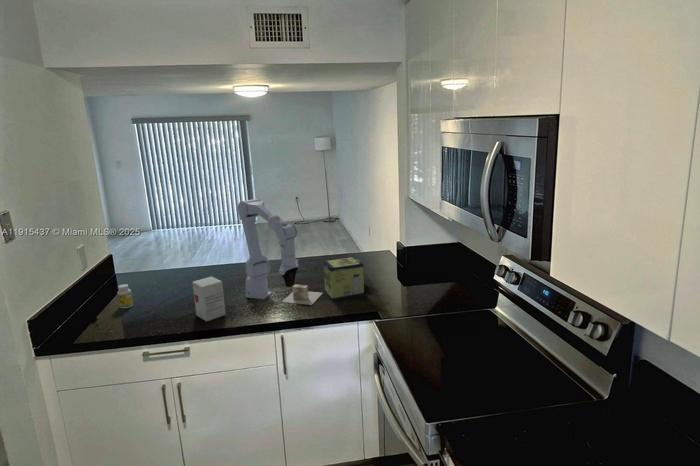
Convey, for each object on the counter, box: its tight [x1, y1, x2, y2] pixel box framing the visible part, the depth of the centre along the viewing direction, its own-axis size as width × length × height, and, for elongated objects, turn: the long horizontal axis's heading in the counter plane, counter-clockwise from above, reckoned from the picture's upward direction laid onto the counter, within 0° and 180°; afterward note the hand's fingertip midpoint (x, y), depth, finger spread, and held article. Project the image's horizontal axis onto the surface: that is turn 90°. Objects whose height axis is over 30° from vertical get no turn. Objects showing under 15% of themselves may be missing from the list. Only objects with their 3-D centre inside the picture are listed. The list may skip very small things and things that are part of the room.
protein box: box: [323, 256, 365, 301], centre depth 203 cm, size 10×16×16 cm
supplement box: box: [192, 276, 226, 322], centre depth 186 cm, size 9×9×15 cm
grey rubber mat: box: [281, 290, 323, 306], centre depth 203 cm, size 14×14×1 cm
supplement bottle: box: [116, 283, 134, 309], centre depth 198 cm, size 5×5×10 cm
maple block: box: [292, 283, 309, 301], centre depth 200 cm, size 6×3×6 cm, turn 73°
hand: (290, 285), depth 189 cm, fingers closed
